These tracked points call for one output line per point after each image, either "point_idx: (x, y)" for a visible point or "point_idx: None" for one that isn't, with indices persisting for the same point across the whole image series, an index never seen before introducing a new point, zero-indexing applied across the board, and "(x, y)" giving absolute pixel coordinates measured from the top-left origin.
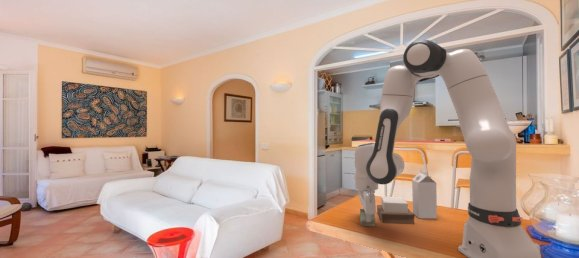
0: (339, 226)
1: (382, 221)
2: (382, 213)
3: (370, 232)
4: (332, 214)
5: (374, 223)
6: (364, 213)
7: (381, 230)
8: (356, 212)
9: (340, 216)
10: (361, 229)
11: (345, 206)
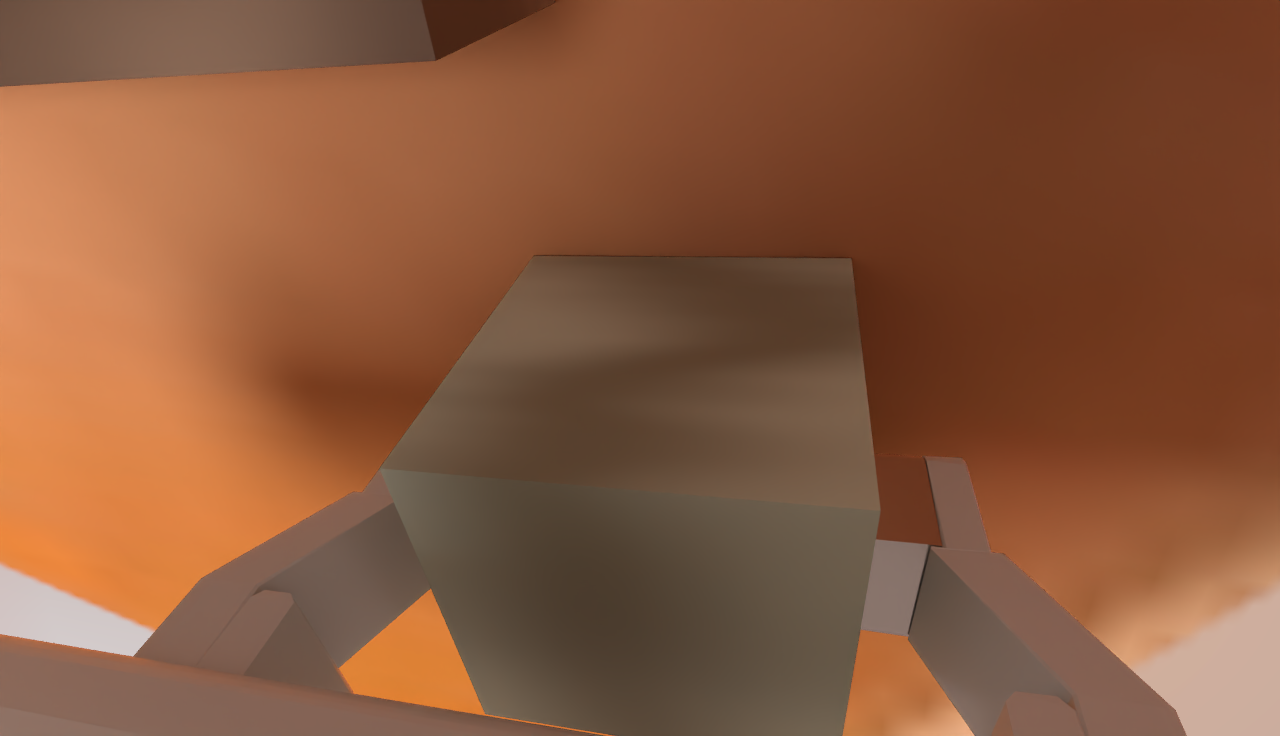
0: (857, 729)
1: (540, 8)
2: (348, 41)
3: (1245, 411)
4: (420, 704)
5: (852, 302)
6: (841, 718)
7: (1184, 127)
8: (168, 453)
9: (457, 654)
10: (1021, 527)
11: (19, 539)
